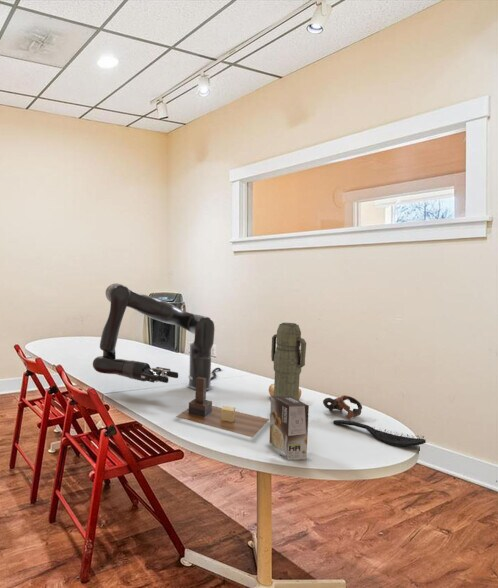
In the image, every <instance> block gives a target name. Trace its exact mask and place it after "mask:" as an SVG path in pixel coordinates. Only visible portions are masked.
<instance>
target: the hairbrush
mask: <svg viewBox="0 0 498 588" xmlns="http://www.w3.org/2000/svg"><path fill="white" fill-rule="evenodd" d="M333 424H335V425H344V426H351V427H352V426H353V427H358V428H360V429H364V430H366V431H367V432H368V433H369V434H370V435H371V436H373V437H374V438H375V439H376V440H378V441H380V442H382V443H384V444H388V445H390V446H396V447H415V446H419V445H424V444H426V443H427V440H426V439H424V437H425V436H424V435H422V434H420V436H419V435H416V434H415V435H414V436H413V434H412V435H411V434H410V435H409V434H408V433H406V434H404V433H398V431H392V432H389V430H387V429H384V431H383V428H382V429H381V428H379V429H376V428H375V427H372V426H370V425H368V424H365V423H361V422H358V421H354V420H350V419H334V420H333ZM393 433H394V434H393Z"/></svg>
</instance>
